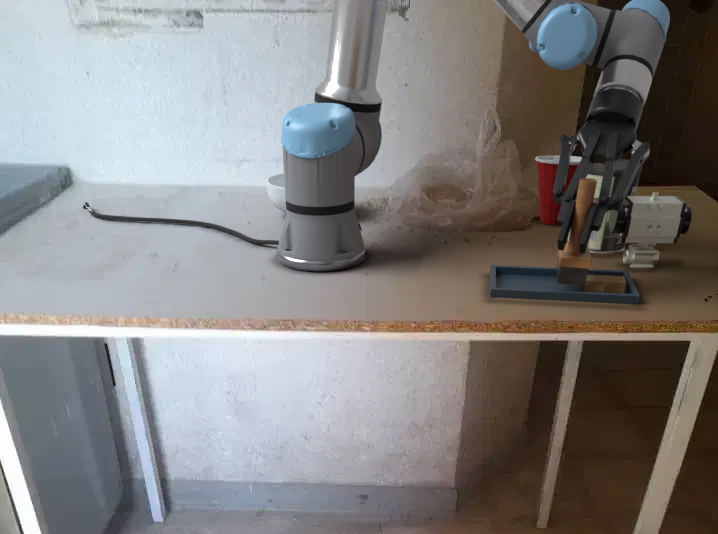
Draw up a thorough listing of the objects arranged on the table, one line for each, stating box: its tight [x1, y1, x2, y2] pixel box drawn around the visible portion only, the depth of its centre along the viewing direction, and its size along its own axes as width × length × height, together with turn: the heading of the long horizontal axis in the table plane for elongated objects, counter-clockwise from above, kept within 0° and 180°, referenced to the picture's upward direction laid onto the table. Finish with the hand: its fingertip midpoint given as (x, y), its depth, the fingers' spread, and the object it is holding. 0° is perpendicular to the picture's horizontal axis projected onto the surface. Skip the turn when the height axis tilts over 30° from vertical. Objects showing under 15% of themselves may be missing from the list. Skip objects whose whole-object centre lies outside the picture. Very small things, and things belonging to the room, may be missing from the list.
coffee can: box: [566, 158, 644, 254], centre depth 128 cm, size 10×10×14 cm
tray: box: [489, 264, 641, 305], centre depth 114 cm, size 22×12×2 cm, turn 81°
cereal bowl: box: [266, 172, 286, 214], centre depth 150 cm, size 17×17×7 cm
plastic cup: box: [534, 155, 582, 226], centre depth 143 cm, size 11×11×12 cm
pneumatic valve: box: [609, 191, 693, 269], centre depth 119 cm, size 6×12×12 cm, turn 86°
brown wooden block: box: [582, 274, 605, 293], centre depth 112 cm, size 3×3×2 cm
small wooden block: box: [603, 275, 626, 294], centre depth 112 cm, size 3×3×2 cm
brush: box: [555, 178, 597, 285], centre depth 108 cm, size 4×7×14 cm, turn 168°
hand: (571, 246), depth 106 cm, fingers closed on brush, 2 cm apart
